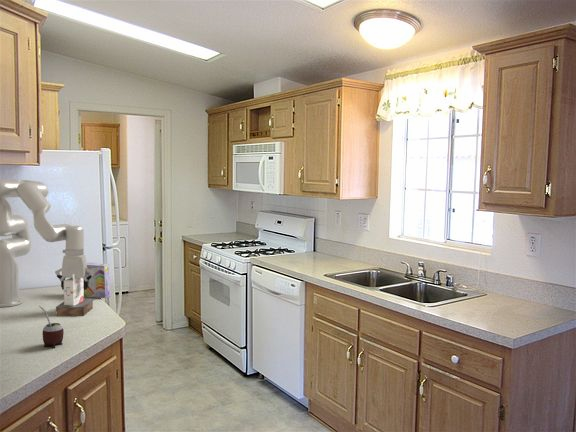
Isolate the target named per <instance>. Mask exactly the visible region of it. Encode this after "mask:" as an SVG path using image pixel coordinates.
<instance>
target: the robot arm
mask: <svg viewBox="0 0 576 432" xmlns="http://www.w3.org/2000/svg"><path fill="white" fill-rule="evenodd" d="M48 195H49V188H48V186H47V185H46V184H45V183H44V182H42V181H35V180H25V179H0V237H7V236H8V237H9V236H11V237H10V238H4V239H0V308H6V307H14V306H18V305H21V304H22V303H23V299H22V298H20V295H19V287H20V286H19V265H18V263H17V261H16V259H15V258H18V257H23V256H25V255H28V254H29V253H30V251H31V248H32V247H31V246H32V245H31V236H30V231H29V228H30V227H29V224H28V222H27V220H26V218H25V217H24V216H22V215H19V214H17V215H16V214H15V215H13V213H12V207H11V205H10V203H9V201H8V200H7V198H20V200H21V201H22V202H23V203H24V205H25V206H26V207H27V208H28V209H29V211H30V212H31V213H32V215H33V216H32V218H33V219H32V220H33V221H32V222H33V226H34V229H35V231H36V232H37V233H38V235H39V236H40V237H41V238H42V239H43V240H44V241H45V242H48V243H56V242H62V241H63V242H64V241H65V249H62V254H64V255H63V258H62V264H61V268H59V269H57V270H55V272H54V273H55V275H56V278H58V279H59V281H60V287H61V289H62V290H63V291H64V280H66V279H69V278H73V274H75V278H83V279H84V280H85V281H84V290H86V289H87V288H88V280H89V279H90V278H92V276H93V274H94V271H92V270H90V269H89V268H87V263H88V262H87V259H86V258H87V257H86V255H85V254H84V250H85V249H84V246H85V245H84V243H85V242H84V240H85V239H84V238H85V237H84V233H85V232H84V227H83V226H81V225H71V224H66V223H63V224H62V223H60V224H51V223H50V222H49V221H48V219H47V217H46V213H48V212H49V211H50V209H51V206H52V205H51V203H50V202H49V201H48V199H47V197H48ZM87 272H89V273H90V275H89V276H87Z"/></svg>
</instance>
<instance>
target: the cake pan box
mask: <svg viewBox="0 0 576 432" xmlns="http://www.w3.org/2000/svg"><path fill="white" fill-rule="evenodd" d="M86 263H87V268H89V269H90V270H92V271H94V274H93V276H92V278H90V279H89V280H88V288H87V289H86V290H84V298H98V299H107V298H109V297H110V296H111V285H110V284H111V283H110V265H109V263H97V262H86ZM89 275H90V273H89V272H87V276H89ZM84 281H85V280H84V279H83V284H84Z"/></svg>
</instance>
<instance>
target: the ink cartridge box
mask: <svg viewBox="0 0 576 432" xmlns="http://www.w3.org/2000/svg"><path fill="white" fill-rule="evenodd" d="M84 300H85V297H84V284H83V278H75V274H73V278H66V279H65V280H64V290H63V302H64V305H67V306H75V305H77V304H79V303H81V302H83V301H84Z"/></svg>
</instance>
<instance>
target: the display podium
mask: <svg viewBox="0 0 576 432" xmlns="http://www.w3.org/2000/svg"><path fill="white" fill-rule="evenodd" d="M93 302H94V299H84V301H83V302H81V303H79V304H77V305H75V306H67V305H64V301H62V302H61V303H59V304H58V305H56V306H55V309H56V310H55V313H56V317H57V316H58V317H59V316H61V317H62V316H63V317H65V316H66V317H69V316H70V317H73V316H74V317H84V316H85V315H87V314H88V313H89V312H90V311H91V310H92V309H93V307H94V306H93V304H94V303H93Z"/></svg>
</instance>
